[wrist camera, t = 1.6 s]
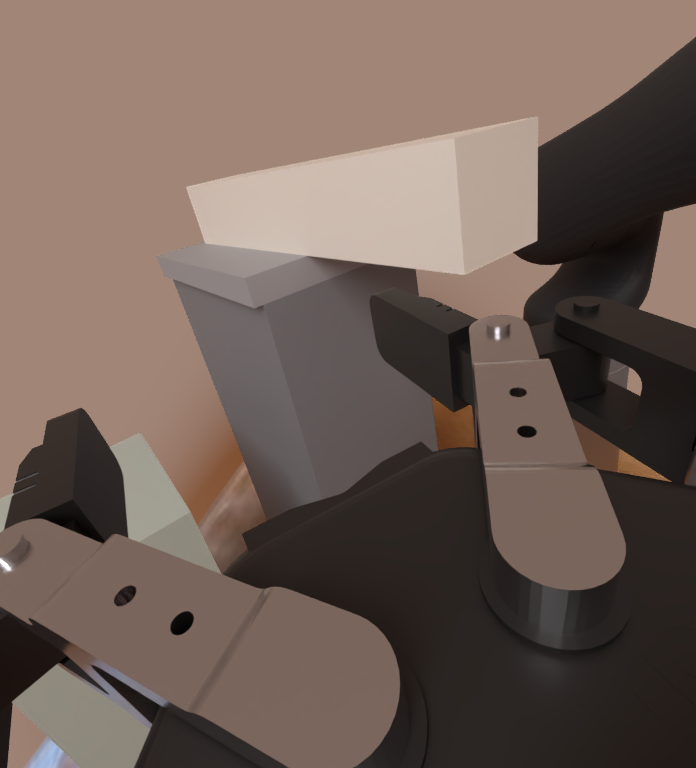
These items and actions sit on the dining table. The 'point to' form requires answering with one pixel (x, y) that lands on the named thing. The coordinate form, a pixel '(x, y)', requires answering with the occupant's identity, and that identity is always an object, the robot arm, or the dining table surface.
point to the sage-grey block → (66, 692)
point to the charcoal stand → (300, 366)
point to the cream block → (388, 202)
